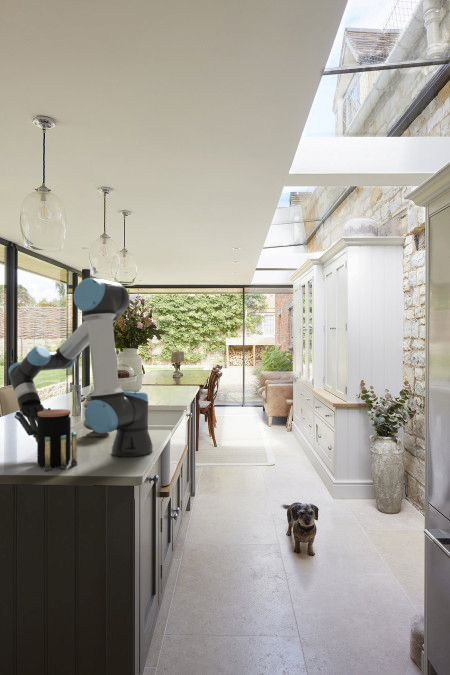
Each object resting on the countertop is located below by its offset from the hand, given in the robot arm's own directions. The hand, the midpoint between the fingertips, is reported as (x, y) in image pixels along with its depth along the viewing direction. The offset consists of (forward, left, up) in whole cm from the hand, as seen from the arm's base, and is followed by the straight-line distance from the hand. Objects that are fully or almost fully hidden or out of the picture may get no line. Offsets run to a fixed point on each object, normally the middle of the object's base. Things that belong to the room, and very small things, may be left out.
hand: (45, 449), depth 154 cm
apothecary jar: (+21, -35, -4) cm, 41 cm away
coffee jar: (-7, 0, -4) cm, 8 cm away
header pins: (-13, +1, -4) cm, 14 cm away
